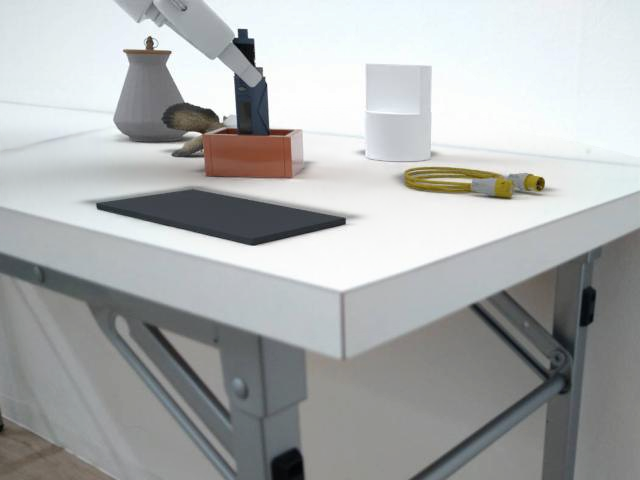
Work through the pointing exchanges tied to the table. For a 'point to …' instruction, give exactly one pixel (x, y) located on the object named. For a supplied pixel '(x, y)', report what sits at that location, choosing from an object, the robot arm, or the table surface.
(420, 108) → the base with upright slab
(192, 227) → the mat
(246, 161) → the open box
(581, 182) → the table surface
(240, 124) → the vaping device
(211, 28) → the robot arm
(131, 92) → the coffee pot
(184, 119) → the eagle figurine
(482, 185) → the extension cord
